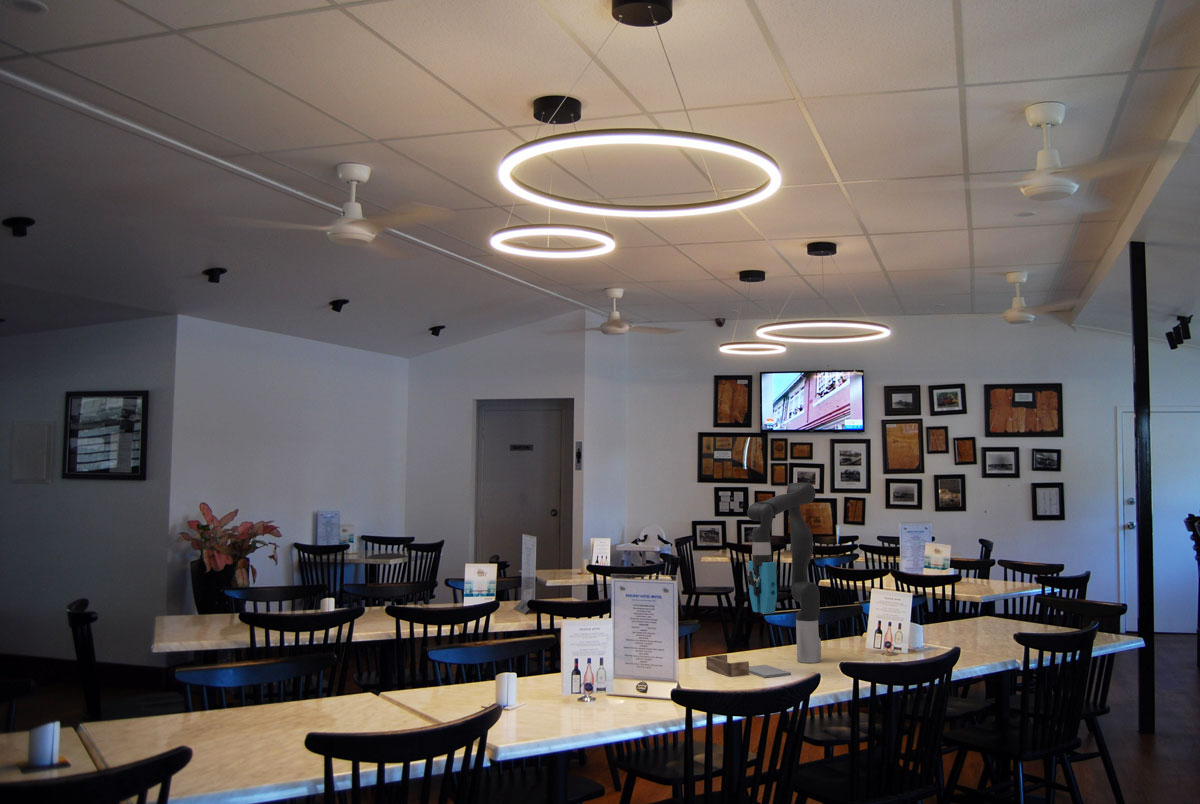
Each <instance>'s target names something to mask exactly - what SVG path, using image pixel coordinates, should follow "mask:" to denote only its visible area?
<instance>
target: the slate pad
mask: <svg viewBox="0 0 1200 804" xmlns="http://www.w3.org/2000/svg"><path fill="white" fill-rule="evenodd" d="M749 674H752V675H755V676H758V677H760V678H763V679H768V678H770V679H771V678H777V677H778V678H779V677H785V676H786V677H787V676H792V672H790V671H788V670H787V671H786V670H785V669H784V670H783V669H781V668H778V667H773V666H771V665H768V664H760V665H758V664H757V665H749Z"/></svg>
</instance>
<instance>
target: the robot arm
mask: <svg viewBox="0 0 1200 804" xmlns="http://www.w3.org/2000/svg"><path fill="white" fill-rule="evenodd" d="M815 498H816V489H815V487H814V485H812V483H809V482H792V483H791V482H790V483H789V484H788V485H787V487H786V493H784V494H778V495H775V496H773V497H771V498H769V499H766V500H763V501H761V500H760V501H758V502H754V503H752V504H750V506H749V507H748V509H747V511H746V512H747V517H748V518H749V520H751V521H753V522H760V525H759V526H757V527H753V529H752V532H751V534H752V547H751V549H752V550H751V551H752V554H751V555H752V557H751V558H752V561H753V570H750V571H749V570H746V577H747V578H746V579H747V581H748V586H749V585H751V586H753V590H754V595H755V596H756V597H759V587H758V586H759V582H760V581H761V579H760V574H759V566H762V563H766V562H772V545H771V528H772V524H773V519H774V516H777V515H779V514H781V513H784V512H785V511H787V510H788V515H789V525H790V527H789V528H790V548H791V572H792V573H791V587H790V588H791V595H792V598H793V599H794V601H795V602H797V603H799V604H800V608H799V609H800V610H799V611H797V612H796V613H795V627H796V628H795V629H796V630H795V633H796V657H797V658H796V660H797V662H798V663H804V664H814V663H815V664H816V663H820V662H822V640H821V637H820V636H819V615H820V610H821V609H820V608H821V606H820V605H821V604H820V603H821V595H820V594H821V593H820V589H819V587H818V585H817V584H816V583H814V582H811V581H809V579H808V568H809V563H810V561H811V559H812V555H813V552H814V541H813V538H814V537H813V533H812V531H811V529H810V528H809V526H808V524H807V522H806V521H805V520H804V517H803V515H802V510H801V506H802V505H809V504H811V503H813V502H814V500H815ZM753 573H754V574H755V576H756V577H757V578H758V579H757V578H755V577H754V579H753V575H754V574H753ZM778 575H779V570H778V568H776V578H777V579H778Z"/></svg>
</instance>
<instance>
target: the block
mask: <svg viewBox="0 0 1200 804" xmlns="http://www.w3.org/2000/svg"><path fill="white" fill-rule="evenodd" d="M776 569H777V562H776V561H771V562H766V563H762V566H759V574H760V579H761V581H760V582H759V586H758V587H759V597H756V596H755V595H754V590H753V586H751V585H749V584H748V589H749V598H750V603H751V609H752V612H754V613H760V614H766V615H767V614H768V615H769V614H774V613H775V612H776V605H777V599H778V598H777V597H778V585H777V583H778V582H777V581H778V577H777V578H776ZM750 570H753V560H749V561H748V571H750ZM753 574H754V573H753ZM754 577H755V578H757V577H756V576H755V574H754V575H753V579H754ZM757 579H758V578H757Z"/></svg>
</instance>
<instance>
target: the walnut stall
mask: <svg viewBox="0 0 1200 804" xmlns="http://www.w3.org/2000/svg"><path fill="white" fill-rule="evenodd" d="M705 660H706V670H709V671H711V672H714V673H717V674H721V675H723V676H726V677H728V678H732V677H741V676H748V675H750V673H749V666H750V662H749V661H748V660H747V661H746V660H745V661H737V662H728V655H727V654H719V655H709V656H708V655H707V656H706V659H705Z"/></svg>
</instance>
